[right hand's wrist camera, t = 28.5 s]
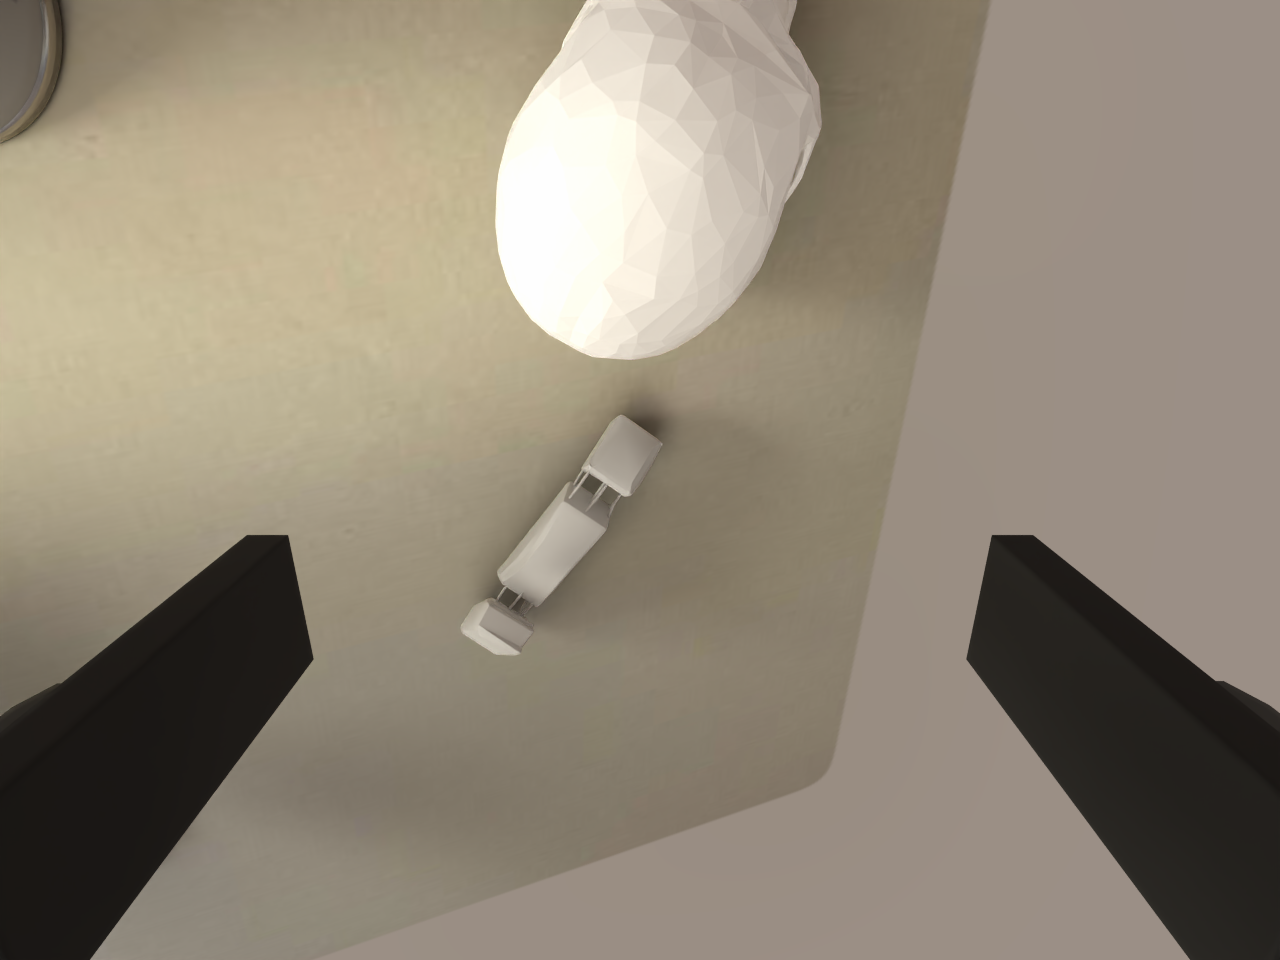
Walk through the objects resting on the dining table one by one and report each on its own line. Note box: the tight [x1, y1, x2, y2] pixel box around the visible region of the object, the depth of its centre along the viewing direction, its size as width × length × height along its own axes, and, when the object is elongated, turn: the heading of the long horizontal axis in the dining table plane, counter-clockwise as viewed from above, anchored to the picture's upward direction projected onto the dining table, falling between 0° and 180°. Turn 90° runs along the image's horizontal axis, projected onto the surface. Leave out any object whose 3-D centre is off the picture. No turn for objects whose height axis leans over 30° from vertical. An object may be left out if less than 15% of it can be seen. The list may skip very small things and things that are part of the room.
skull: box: [495, 0, 822, 360], centre depth 32 cm, size 13×22×16 cm, turn 155°
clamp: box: [461, 415, 663, 655], centre depth 46 cm, size 20×4×7 cm, turn 144°
